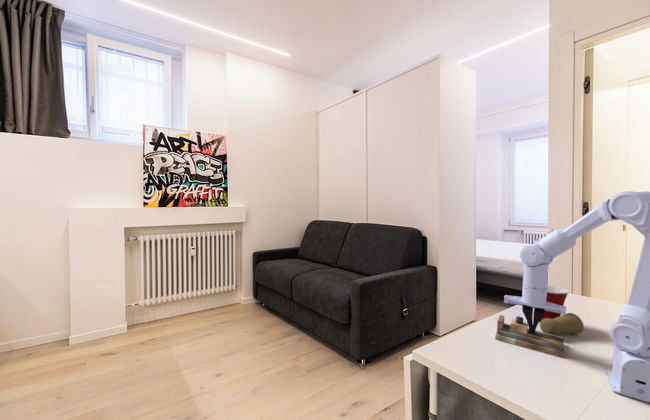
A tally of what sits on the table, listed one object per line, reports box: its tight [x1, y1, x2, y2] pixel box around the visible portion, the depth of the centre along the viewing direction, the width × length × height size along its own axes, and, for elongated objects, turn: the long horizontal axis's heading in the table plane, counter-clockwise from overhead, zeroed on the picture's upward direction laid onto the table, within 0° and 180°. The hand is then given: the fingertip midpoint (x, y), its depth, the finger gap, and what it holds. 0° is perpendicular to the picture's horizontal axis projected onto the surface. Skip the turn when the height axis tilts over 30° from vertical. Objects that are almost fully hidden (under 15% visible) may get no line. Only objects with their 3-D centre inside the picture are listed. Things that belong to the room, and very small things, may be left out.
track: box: [494, 315, 565, 359], centre depth 86 cm, size 16×9×5 cm, turn 52°
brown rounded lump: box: [539, 312, 585, 336], centre depth 91 cm, size 6×6×11 cm
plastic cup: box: [538, 285, 570, 324], centre depth 99 cm, size 11×11×12 cm
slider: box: [510, 316, 529, 337], centre depth 88 cm, size 4×4×5 cm
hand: (532, 332), depth 86 cm, fingers closed
